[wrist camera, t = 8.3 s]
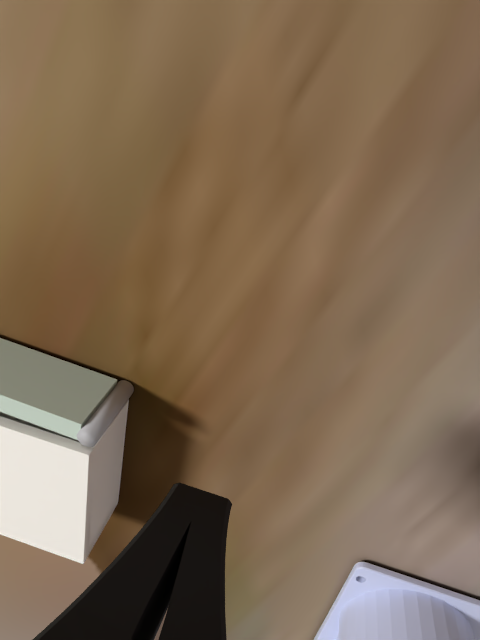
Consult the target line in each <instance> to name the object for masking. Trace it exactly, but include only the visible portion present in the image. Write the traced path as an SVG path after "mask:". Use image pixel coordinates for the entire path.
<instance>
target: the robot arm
mask: <svg viewBox="0 0 480 640" xmlns="http://www.w3.org/2000/svg"><path fill="white" fill-rule="evenodd" d="M231 506H232V503H231V502H230V500H229V499H227V498H224V497H221V496H218V495H215V494H212V493H209V492H206V491H203V490H200V489H197V488H194V487H191V486H188V485H185V484H182V483H177V484H174V485H173V487H172V488H171V490H170V491H169V493H168V495H167V496H166V497H165V499H164V500H163V502H162V503H161V505H160V506H159V507H158V509H157V510H156V511H155V513H154V514H153V515H152V516H151V518H150V519H149V520H148V521H147V523H146V524H145V525H144V526H143V528H142V529H141V530H140V531H139V532H138V534H137V535H136V536H135V537H134V538H133V539H132V540H131V542H130V543H129V544H128V545H127V546H126V547H125V548H124V550H123V551H122V552H121V553H120V554H119V555H118V556H117V558H116V559H115V560H114V561H113V562H112V563H111V564H110V565H109V566H108V567H107V568H106V569H105V570H104V571H103V572H102V573H101V574H100V576H99V577H98V578H97V579H96V580H95V581H94V582H93V583H92V584H91V585H90V586H89V587H88V588H87V589H86V590H85V591H84V592H83V593H82V594H81V595H80V596H79V597H78V598H77V599H76V600H75V601H74V602H73V603H72V604H71V605H70V606H69V607H68V608H67V609H66V610H65V611H64V612H62V613H61V614H60V615H59V616H58V617H57V618H56V619H55V620H54V621H53V622H52V623H50V624H49V625H48V626H47V627H46V628H45V629H44V630H43V631H42V632H41V633H39V634H38V635H37V636H36V637H35V638H34V639H33V640H154V638H155V636H156V633H157V631H158V629H159V627H160V624H161V622H162V620H163V617H164V615H165V613H166V610H167V608H168V610H167V614H166V618H165V621H164V624H163V627H162V630H161V634H160V637H159V640H226V622H225V553H226V538H227V528H228V521H229V515H230V510H231ZM168 606H169V607H168ZM314 640H480V600H477V599H474V598H471V597H468V596H465V595H462V594H459V593H456V592H453V591H450V590H447V589H444V588H441V587H438V586H435V585H432V584H430V583H427V582H424V581H421V580H418V579H415V578H412V577H409V576H406V575H403V574H400V573H397V572H394V571H391V570H388V569H385V568H382V567H379V566H376V565H373V564H370V563H367V562H358V563H356V564H355V565H354V567H353V569H352V571H351V573H350V574H349V576H348V578H347V580H346V582H345V584H344V585H343V587H342V589H341V591H340V593H339V594H338V596H337V598H336V600H335V602H334V604H333V605H332V607H331V609H330V611H329V613H328V615H327V616H326V618H325V620H324V622H323V624H322V625H321V627H320V629H319V631H318V633H317V635H316V636H315V638H314Z"/></svg>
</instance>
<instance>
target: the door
mask: <svg viewBox="0 0 480 640" xmlns="http://www.w3.org/2000/svg"><path fill="white" fill-rule="evenodd" d="M133 392H134V387H133V385H132V384H131V383H130V382H128V381H126V380H121V381H119V382H118V383H117V379H114V378H111V377H109V376H106V375H103V374H100V373H97V372H95V371H92V370H89V369H86V368H83V367H81V366H78V365H75V364H72V363H69V362H67V361H64V360H61V359H58V358H55V357H52V356H50V355H47V354H44V353H41V352H38V351H36V350H33V349H30V348H27V347H24V346H22V345H19V344H16V343H13V342H10V341H8V340H5V339H2V338H0V412H3V413H5V414H8V415H11V416H13V417H16V418H19V419H22V420H24V421H27V422H30V423H32V424H35V425H38V426H41V427H43V428H46V429H49V430H51V431H54V432H57V433H59V434H62V435H65V436H68V437H70V438H73V439H76V440H78V441H79V442H80V443H81V444H82V445H84V446H86V447H93V446H95V445H96V443H97V442H98V440H99V439H100V438H101V436H102V435H103V433H104V432H105V431H106V429H107V428H108V427H109V425H110V424H111V422H112V421H113V420H114V418H115V417H116V416H117V414H118V413H119V411H120V410H121V409H122V407H123V406H124V404H125V403H126V402H127V400H128V399H129V398H130V396H131V395H132V393H133Z"/></svg>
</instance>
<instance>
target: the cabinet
mask: <svg viewBox="0 0 480 640" xmlns="http://www.w3.org/2000/svg"><path fill="white" fill-rule="evenodd" d="M128 403H129V400H127V402H126V403H125V404H124V406H123V407H122V409H121V410H120V411H119V413H118V414H117V416H116V417H115V418H114V420H113V421H112V422H111V424H110V425H109V427H108V428H107V429H106V431H105V432H104V433H103V435H102V436H101V438H100V439H99V440H98V442H97V443H96V445H95V446H93V447H86V446H84V445H82V444H81V443H80V442H79V441H78V440H76V439H73V438H70V437H68V436H65V435H62V434H59V433H57V432H54V431H51V430H49V429H46V428H43V427H41V426H38V425H35V424H32V423H30V422H27V421H24V420H22V419H19V418H16V417H13V416H11V415H8V414H5V413H3V412H0V534H1V535H3V536H6V537H9V538H12V539H15V540H17V541H20V542H23V543H26V544H29V545H32V546H35V547H37V548H40V549H43V550H46V551H48V552H51V553H54V554H57V555H59V556H62V557H65V558H68V559H71V560H73V561H76V562H79V563H82V564H84V562H85V560H86V559H87V557H88V555H89V553H90V551H91V550H92V548H93V546H94V544H95V543H96V541H97V539H98V537H99V536H100V534H101V532H102V530H103V529H104V527H105V525H106V523H107V521H108V520H109V518H110V516H111V514H112V513H113V511H114V509H115V507H116V506H117V504H118V500H119V490H120V480H121V471H122V461H123V451H124V442H125V432H126V422H127V413H128Z"/></svg>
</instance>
